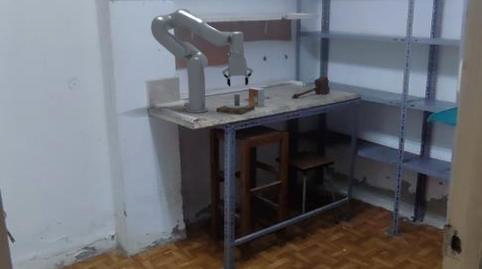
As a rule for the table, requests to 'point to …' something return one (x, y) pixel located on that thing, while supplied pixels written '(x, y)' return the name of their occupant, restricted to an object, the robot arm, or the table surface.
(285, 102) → the table surface
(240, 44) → the robot arm
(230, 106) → the round post pedestal
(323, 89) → the hammer
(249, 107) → the stand base
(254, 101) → the small box
